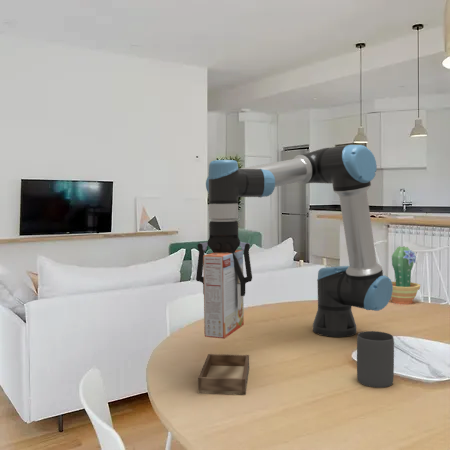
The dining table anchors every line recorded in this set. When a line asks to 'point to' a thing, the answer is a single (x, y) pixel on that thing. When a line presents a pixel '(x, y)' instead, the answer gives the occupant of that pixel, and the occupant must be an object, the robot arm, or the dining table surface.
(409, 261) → the potted cactus
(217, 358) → the tray
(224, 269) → the cracker box
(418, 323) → the dining table surface
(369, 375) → the mug
